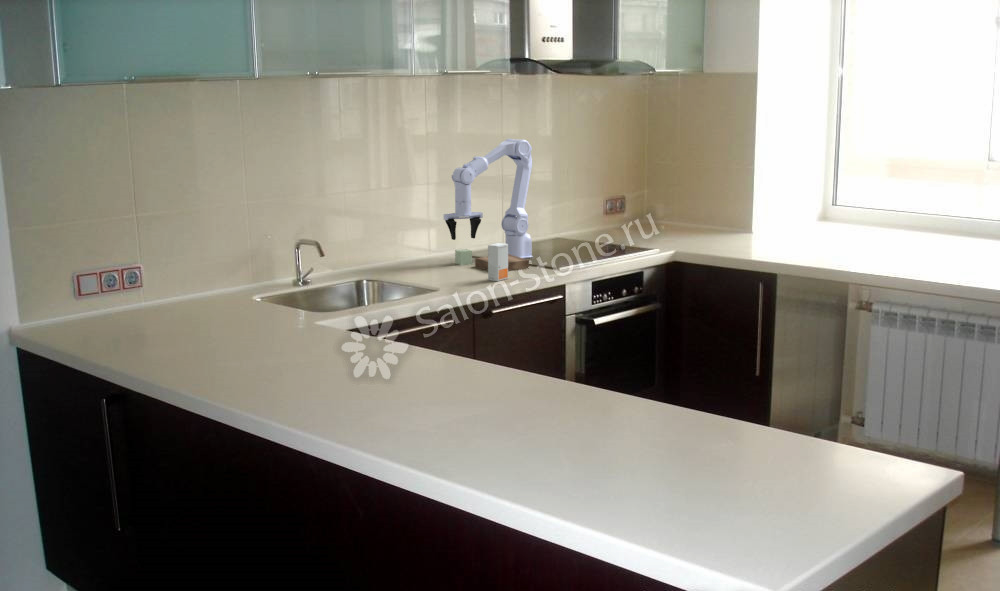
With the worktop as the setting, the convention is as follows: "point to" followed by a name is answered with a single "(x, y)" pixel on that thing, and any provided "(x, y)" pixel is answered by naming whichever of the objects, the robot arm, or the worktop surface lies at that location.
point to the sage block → (463, 257)
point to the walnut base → (513, 263)
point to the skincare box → (497, 261)
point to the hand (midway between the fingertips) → (463, 238)
